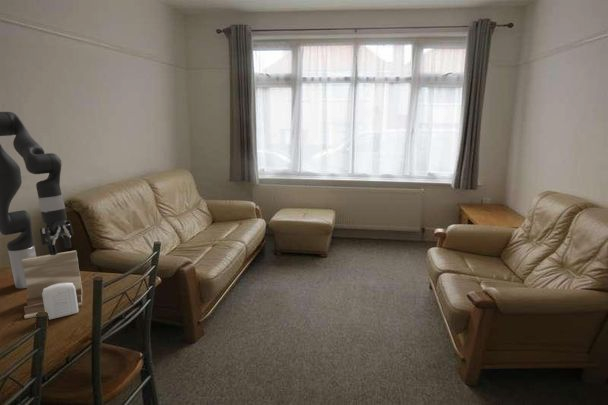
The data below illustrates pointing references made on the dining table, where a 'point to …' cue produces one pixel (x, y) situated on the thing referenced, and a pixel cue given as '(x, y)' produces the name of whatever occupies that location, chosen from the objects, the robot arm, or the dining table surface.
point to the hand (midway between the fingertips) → (61, 251)
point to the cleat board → (49, 277)
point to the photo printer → (60, 300)
